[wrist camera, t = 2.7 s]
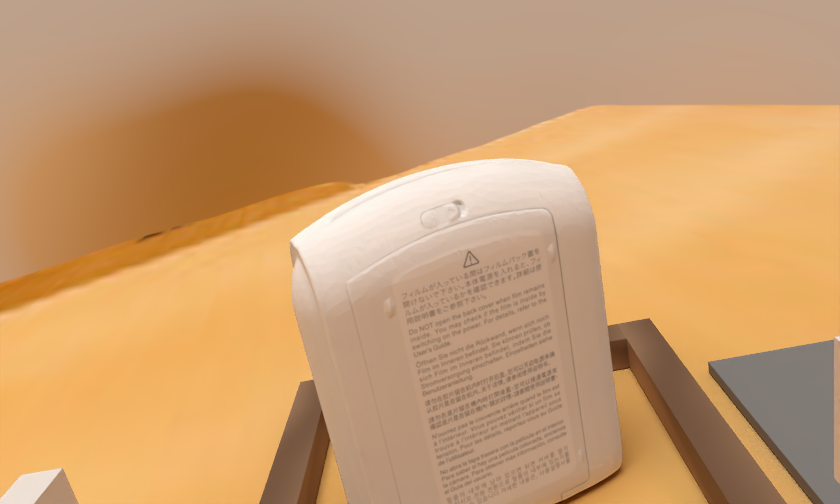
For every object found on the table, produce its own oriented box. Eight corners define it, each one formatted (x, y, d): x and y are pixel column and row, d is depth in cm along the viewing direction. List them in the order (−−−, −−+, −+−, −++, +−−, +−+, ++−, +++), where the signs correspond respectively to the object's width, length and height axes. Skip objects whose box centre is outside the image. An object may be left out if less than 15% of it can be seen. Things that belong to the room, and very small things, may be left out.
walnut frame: (652, 346, 32) (649, 318, 32) (878, 674, 16) (878, 628, 16) (308, 408, 33) (300, 382, 33) (201, 769, 17) (182, 729, 17)
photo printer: (577, 417, 28) (533, 127, 24) (646, 471, 24) (606, 136, 20) (347, 519, 25) (253, 208, 21) (383, 600, 21) (276, 237, 17)
